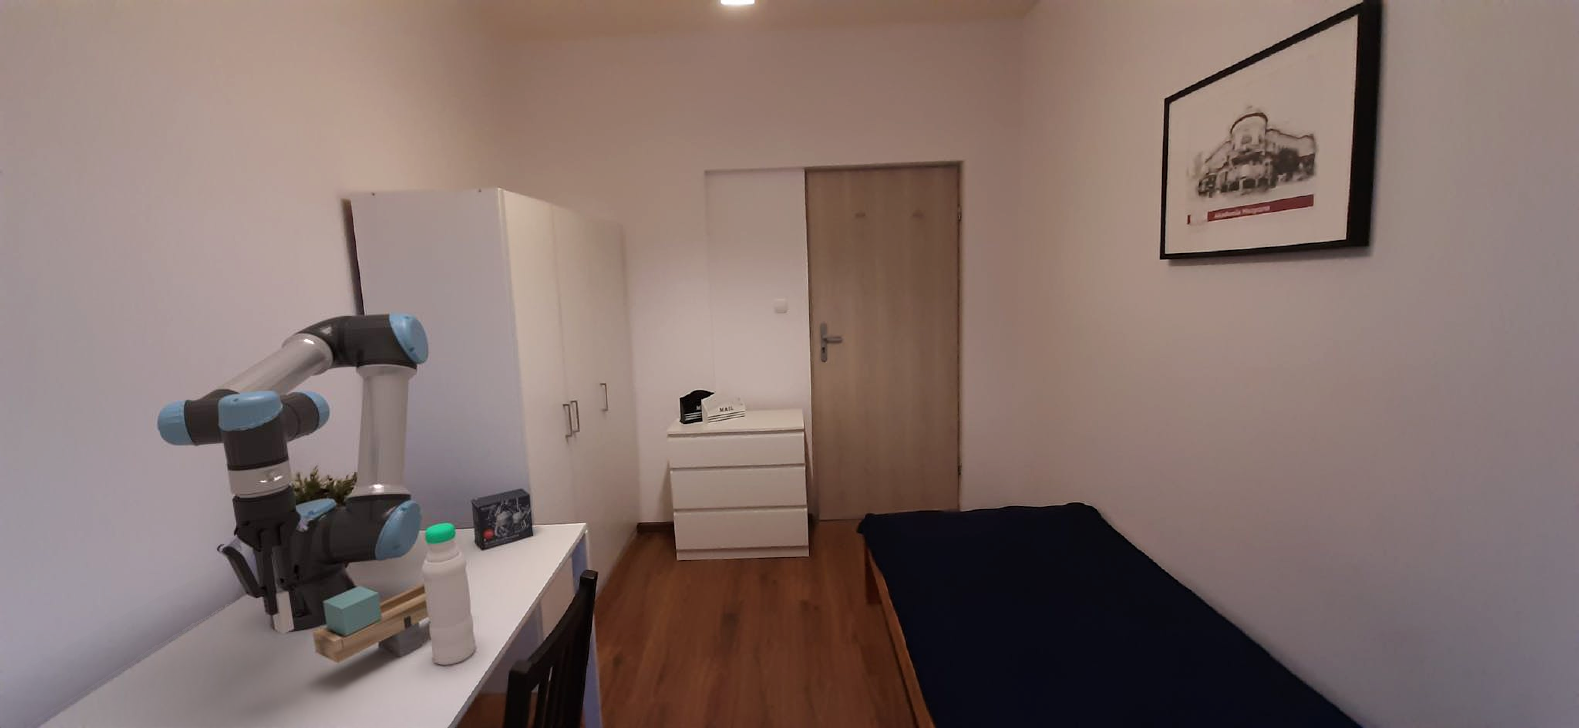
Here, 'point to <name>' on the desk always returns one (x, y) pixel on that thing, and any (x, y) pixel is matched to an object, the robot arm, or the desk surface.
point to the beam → (380, 629)
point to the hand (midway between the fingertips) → (284, 629)
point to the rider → (352, 610)
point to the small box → (502, 518)
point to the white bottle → (447, 597)
